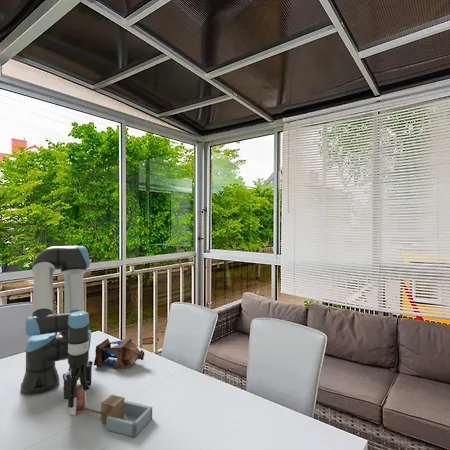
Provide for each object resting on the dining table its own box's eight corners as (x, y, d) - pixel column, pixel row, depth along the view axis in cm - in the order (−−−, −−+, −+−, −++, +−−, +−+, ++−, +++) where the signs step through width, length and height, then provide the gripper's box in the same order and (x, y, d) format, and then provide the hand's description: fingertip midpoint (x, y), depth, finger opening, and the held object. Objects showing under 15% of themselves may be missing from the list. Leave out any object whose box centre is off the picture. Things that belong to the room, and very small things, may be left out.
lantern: (99, 375, 166) (144, 377, 162) (86, 361, 156) (134, 362, 152) (110, 346, 178) (152, 347, 174) (99, 331, 168) (143, 332, 164)
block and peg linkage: (67, 413, 122) (67, 389, 122) (78, 404, 128) (79, 382, 128) (114, 425, 116) (114, 400, 115) (124, 416, 121) (124, 392, 121)
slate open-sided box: (106, 430, 113) (106, 417, 113) (125, 412, 124) (125, 400, 124) (134, 437, 110) (134, 425, 110) (152, 418, 120) (152, 407, 120)
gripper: (68, 362, 115) (67, 425, 115) (101, 344, 132) (101, 399, 132) (52, 359, 117) (51, 421, 117) (87, 342, 134) (86, 396, 134)
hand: (77, 410), depth 124 cm, fingers closed on block and peg linkage, 5 cm apart
